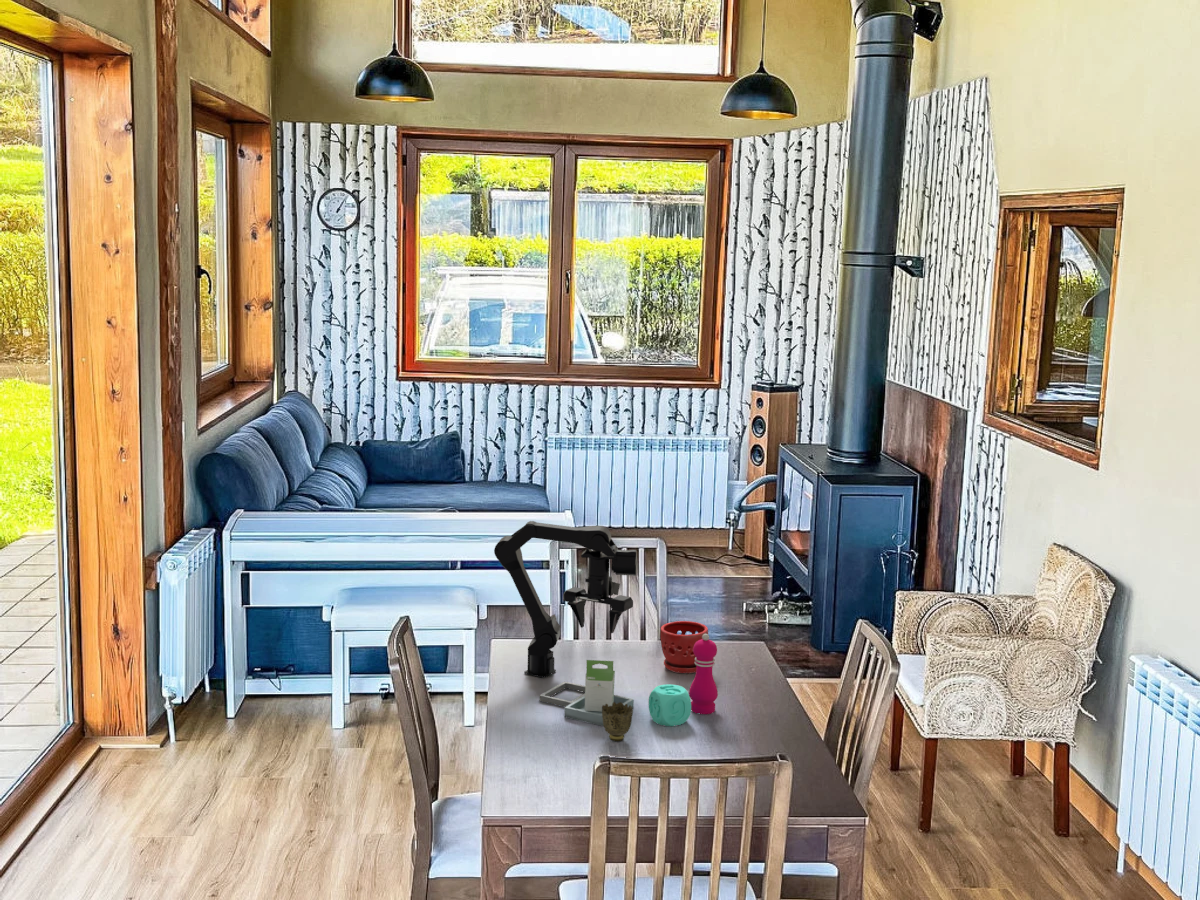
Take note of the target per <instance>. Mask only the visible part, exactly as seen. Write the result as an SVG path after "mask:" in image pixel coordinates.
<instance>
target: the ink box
mask: <svg viewBox="0 0 1200 900" xmlns="http://www.w3.org/2000/svg"><path fill="white" fill-rule="evenodd" d="M614 663H615V662H614V660H599V659H596V660H595V659H586V663H585V664H586V673H585V683H584V686H585V711H597V712H602V705H604V706H605V704H608V707H609V706H612V705H613V704H612V703H613V702H614V695H615V677H616V676H615V675H616V670H614ZM595 665H603V666H606V668H605V667H604V668H603V667H602V668H601V667H600V668H599V667H593V666H595Z"/></svg>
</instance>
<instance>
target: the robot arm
mask: <svg viewBox="0 0 1200 900" xmlns="http://www.w3.org/2000/svg"><path fill="white" fill-rule="evenodd" d="M532 539H539V540H546V541H547V540H548V541H555V542H562V543H563V542H564V543H571V544H576V545H578V546H581V547H583V548H586V549H585V550H584V551H582V553H581V555H580V557H581V559H583V558H584V559H587V570H588V571H587V577H586V578H585V583H587V590H586V589H585V588H581V587H577V586H576V587H575V586H573V587H570V588H569V589H567V590H565V591H564V592H563V595H562V601H563V602H566V604H567V606H570V608H571V610H572V611H573V613H574V615H575V617H576V620H577V622H578V624H579V627H580V628H581V629H583V628H584V627H585V622H586V621H585V620H586V619H585V605H586V604H587V602H592V603H593V602H594V603H598V604H603V605H609V607H610V608H611V609H610V610H609V613H608V614H609V615H608V616H609V631H610V634H614V632H615V631H616V628H617V625H618V623H619V620H620V618H621V616H622V614H623V613H624V612H626V611H628V610H630V609H632V608H634V600H633V598H632V597H631V596H627V595H621V594H619V590H620V586H621V583H619V582H615V581H613V578H612V576H610V568H611V572H613V573H614V574H615V576H629V577H630V576H632V577H634V576H635V577H637V575H638V563H639V562H638V553H637V552H638V551H637V550H636V549H629V550H626V549H618V546H617V544H616V543H615V542H614V540H613V539H612V533H611V532H610V529H608V527H606V526H605V525H588V526H582V527H576V526H567V525H560V524H553V523H552V524H551V523H544V522H537V521H534V520H530V521H527V522H526V523H525V524H524V526H522V527H520V528H519V529H518V530H516V531H515V532H514V533H513V534H512V535H505V536H502V537H501V539H500V540H499V541H498V542H497V543H496V544H495V546H494V549H493V551H494V552H493V553H494V556H495V557H496V559H497V561H498V562H499V563H500V565H501V566H502V567H503V569H505V570H506V571H507V572H508V574H509V575H510V577H511V580H512V582H513V583H514V585H515V588H516V590H517V592H518V594H519V596H520V598H521V600H522V602H523V604H524V607H525V608H526V610H527V613H528V615H529V617H530V619H531V623H532V624H531V625H532V631H533V634H534V637H532V640H531V641H530V644H529V645H528V647H527V670H525V671H524V675H529V676H533V677H539V678H542V677H545V678H547V677H548V676H550V675H552V674H554V673H556V672H557V670H556V669H555V657H554V651H553V650H551V649H553V648H554V647H555V646H556V645H557V644H558V643H557V642H558V640H559V639H560V636H561V628H562V625H560V623H559V622H558V620H557V616H556V614H555V613H553V614H552V615H550V614H548V612H547V611H546V610H545V608H544V606H543V604H542V601H541V599H540V597H539V594H538V593H537V591H536V588H535V587H534V584H533V582H532V580H531V577H530V575H529V574H528V572H527V570H526V568H525V565H524V558H523V553H522V550H521V548H522V547H523V546H524V545H525V544H526V543H528V542H529V541H530V540H532ZM610 561H611V562H610ZM610 563H611V564H610ZM610 565H611V567H610ZM614 595H616V596H615V597H612V596H614ZM609 596H610V597H609ZM555 671H556V672H555ZM551 673H552V674H551ZM546 676H547V677H546Z"/></svg>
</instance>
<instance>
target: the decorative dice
mask: <svg viewBox="0 0 1200 900" xmlns="http://www.w3.org/2000/svg"><path fill="white" fill-rule="evenodd" d="M691 702H692V699H691V698H690V696H689V691H688V690H687V689H686V688H685V687H684V686H682V685H677V684H670V683H669V684H661V685H657V686H656V687H654V688H653V689H652V691H651V692H650V693H649V696H648V711H649V714H650V718H651V719H652V721H653V722H654V723H655V722H656V723H655V724H657V723H658V724H657V725H659V724H660V726H663V725H665V726H664V727H677V726H676V725H679V726H681V724H682V725H684V724H685V723H687V721H688V719H689V718H690V717H691V713H692V711H691ZM674 725H675V726H674Z"/></svg>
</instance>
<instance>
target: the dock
mask: <svg viewBox="0 0 1200 900" xmlns="http://www.w3.org/2000/svg"><path fill="white" fill-rule="evenodd" d="M564 688H565V689H567V688H570V689H569V690H571V689H574V690H573V691H575V690H579V691H578V692H580V691H583V692H582V694H581V695H580V696H577V697H576V698H574V699H572V700H567V699H562V698H557V697H553V696H555V695H556V694H555V693H557V692H558V693H560V692H562V691H564V690H565V689H564ZM563 689H564V690H563ZM561 690H562V691H561ZM559 691H560V692H559ZM584 692H585V685H582V684H578V683H573V682H568V681H563V682H562V683H560V684H558V685H556V686H554V687H552V688H550V689H548V690H547V691H545V692H543V693H541V694H540V695H539V702H541V701H542V703H545V702H548V703H547V704H550V703H552V704H551V705H554V704H556V705H555V706H558V705H560V706H559V707H563V706H565V707H566V706H568V705H569V704H571V703H573V702H575V701H576V700H578V699H580V698H581V697H583V696H585V693H584ZM558 693H557V694H558ZM554 694H555V695H554ZM552 695H553V696H552ZM550 696H551V697H550Z"/></svg>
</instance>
